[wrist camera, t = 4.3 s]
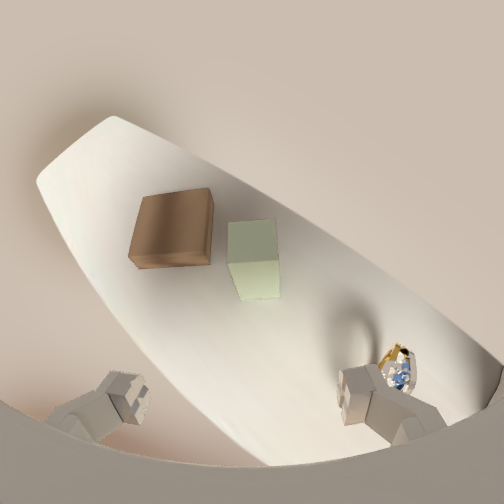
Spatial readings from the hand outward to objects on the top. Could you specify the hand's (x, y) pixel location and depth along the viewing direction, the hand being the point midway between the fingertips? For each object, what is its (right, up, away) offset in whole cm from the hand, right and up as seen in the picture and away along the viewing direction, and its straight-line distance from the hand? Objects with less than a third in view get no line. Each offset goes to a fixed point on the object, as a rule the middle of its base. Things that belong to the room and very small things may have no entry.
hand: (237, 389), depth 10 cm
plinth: (-9, +8, +23) cm, 26 cm away
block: (+1, +2, +19) cm, 19 cm away
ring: (+12, -7, +12) cm, 18 cm away
